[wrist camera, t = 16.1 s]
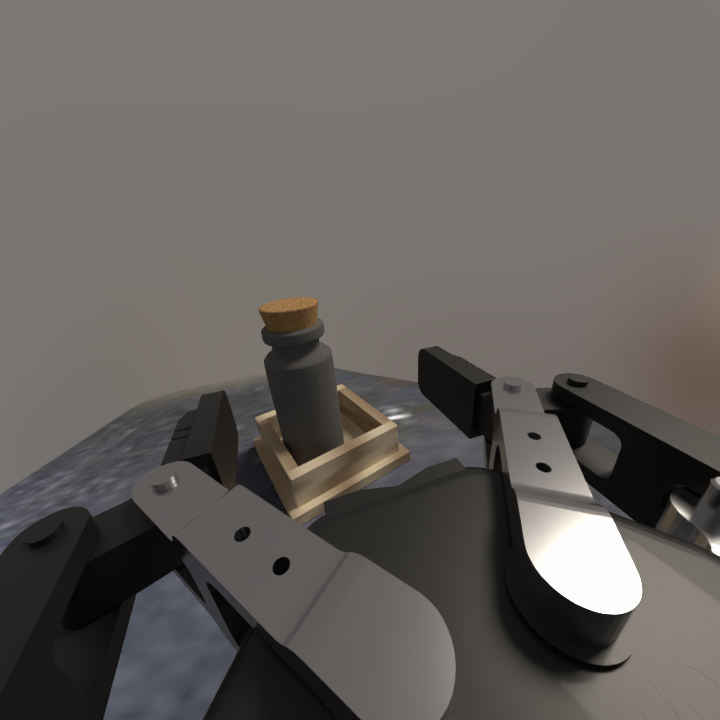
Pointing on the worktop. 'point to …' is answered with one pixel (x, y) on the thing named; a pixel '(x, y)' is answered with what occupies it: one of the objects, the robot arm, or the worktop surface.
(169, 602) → the worktop surface
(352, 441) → the bottle holder
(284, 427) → the bottle
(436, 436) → the worktop surface
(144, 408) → the worktop surface
